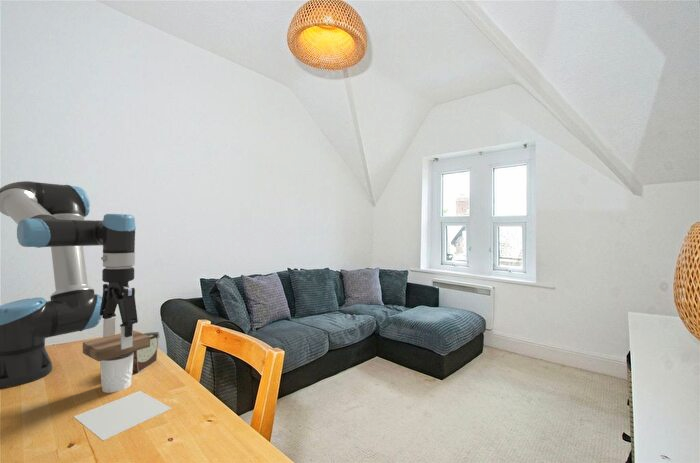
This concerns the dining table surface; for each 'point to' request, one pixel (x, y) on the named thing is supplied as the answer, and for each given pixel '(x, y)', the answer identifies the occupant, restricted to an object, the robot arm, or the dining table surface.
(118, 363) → the white cup
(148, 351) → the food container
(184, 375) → the dining table surface
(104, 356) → the walnut board
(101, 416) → the rubber mat
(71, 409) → the dining table surface
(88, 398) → the dining table surface
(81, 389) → the dining table surface
